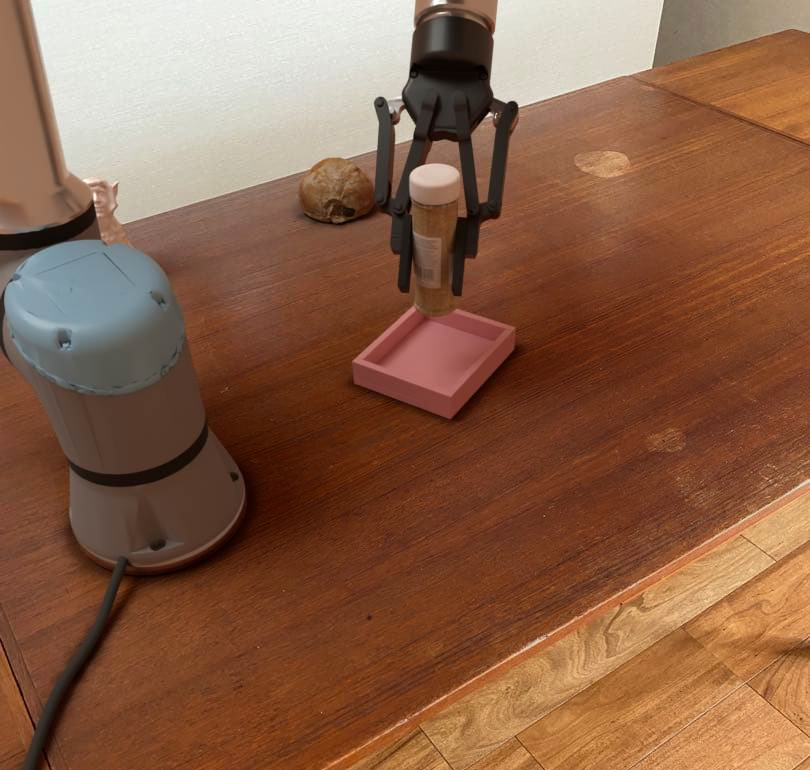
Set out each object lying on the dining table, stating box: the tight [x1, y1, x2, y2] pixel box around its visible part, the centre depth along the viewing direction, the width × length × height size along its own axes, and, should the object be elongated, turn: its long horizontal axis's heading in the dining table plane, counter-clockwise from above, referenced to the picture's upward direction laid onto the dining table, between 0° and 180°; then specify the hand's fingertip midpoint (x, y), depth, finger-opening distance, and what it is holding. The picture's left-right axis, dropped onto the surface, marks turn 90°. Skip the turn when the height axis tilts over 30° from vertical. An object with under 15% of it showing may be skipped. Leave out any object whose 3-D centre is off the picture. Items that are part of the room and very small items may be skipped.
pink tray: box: [351, 305, 517, 420], centre depth 90 cm, size 14×12×3 cm
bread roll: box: [297, 157, 375, 225], centre depth 114 cm, size 10×10×8 cm
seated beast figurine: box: [81, 176, 135, 248], centre depth 101 cm, size 10×9×12 cm
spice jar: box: [409, 163, 462, 317], centre depth 81 cm, size 5×5×14 cm
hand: (429, 290), depth 81 cm, fingers closed on spice jar, 4 cm apart
